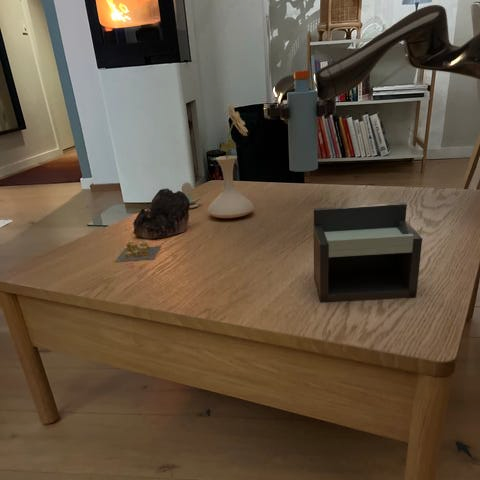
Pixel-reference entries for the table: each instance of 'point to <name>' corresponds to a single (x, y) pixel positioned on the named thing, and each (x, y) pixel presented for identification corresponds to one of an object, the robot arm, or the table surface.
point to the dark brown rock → (163, 215)
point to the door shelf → (365, 253)
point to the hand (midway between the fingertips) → (303, 111)
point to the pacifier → (189, 194)
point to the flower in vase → (230, 179)
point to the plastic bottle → (302, 125)
